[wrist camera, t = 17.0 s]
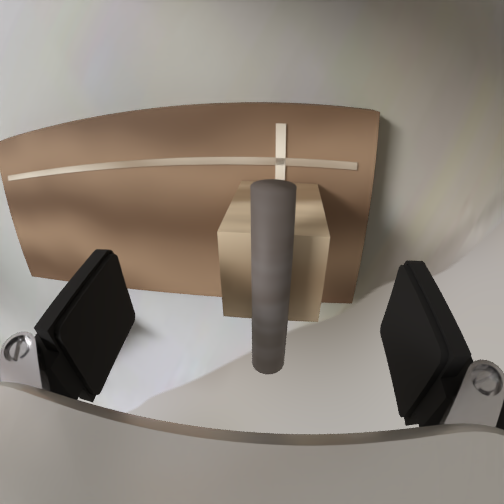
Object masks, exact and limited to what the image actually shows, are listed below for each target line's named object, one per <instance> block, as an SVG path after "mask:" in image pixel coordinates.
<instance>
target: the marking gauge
mask: <svg viewBox="0 0 504 504" xmlns="http://www.w3.org/2000/svg"><path fill="white" fill-rule="evenodd" d="M217 236H218V251H219V265H220V278H221V290H222V303H223V314H224V316H229V317H242V318H252V363H253V367H254V368H255V369H256V370H257V371H258V372H260V373H263V374H273V373H276V372H278V371H280V370H281V369H282V367H283V365H284V355H285V345H286V335H287V323H288V320H289V321H311V322H318V318H319V312H320V306H321V300H322V293H323V287H324V280H325V273H326V266H327V258H328V251H329V243H330V234H329V229H328V225H327V221H326V217H325V212H324V208H323V204H322V200H321V196H320V192H319V188H318V184H307V183H292V182H289V181H285V180H279V179H265V180H259V181H241V183H240V185H239V187H238V189H237V191H236V193H235V195H234V197H233V199H232V201H231V204H230V206H229V208H228V210H227V212H226V214H225V216H224V218H223V220H222V223H221V225H220V227H219V229H218V231H217Z"/></svg>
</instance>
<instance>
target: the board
mask: <svg viewBox="0 0 504 504" xmlns="http://www.w3.org/2000/svg"><path fill="white" fill-rule="evenodd" d="M379 115H380V112H378V111H375V110H371V109H362V108H353V107H344V106H332V105H319V104H302V103H272V102H241V103H211V104H194V105H181V106H169V107H160V108H151V109H142V110H135V111H128V112H121V113H114V114H108V115H102V116H97V117H91V118H86V119H81V120H76V121H72V122H67V123H63V124H58V125H54V126H50V127H46V128H42V129H38V130H34V131H31V132H27V133H23V134H20V135H17V136H13V137H10V138H7V139H4V140H2V141H0V172H1V176H2V181H3V185H4V190H5V194H6V198H7V202H8V205H9V209H10V213H11V216H12V220H13V223H14V226H15V230H16V233H17V236H18V239H19V242H20V245H21V248H22V251H23V254H24V256H25V259H26V262H27V265H28V267H29V270H30V272H31V275H32V276H34V277H41V278H48V279H55V280H63V281H70V279H71V278H72V277H73V276H74V274H75V273H76V272H77V271H78V269H79V268H80V267H81V266H82V265H83V263H84V262H85V261H86V260H87V259H88V258H89V256H90V255H91V254H92V253H93V252H94V251H95V250H96V249H108V250H112V251H113V252H114V254H116V255H117V256H118V259H119V262H120V266H121V269H122V273H123V276H124V280H125V283H126V286H127V288H129V289H138V290H148V291H158V292H169V293H180V294H192V295H204V296H217V297H222V290H221V278H220V265H219V251H218V236H217V231H218V229H219V227H220V225H221V223H222V220H223V218H224V216H225V214H226V212H227V210H228V208H229V206H230V204H231V201H232V199H233V197H234V195H235V193H236V191H237V189H238V187H239V185H240V183H241V181H259V180H265V179H279V180H285V181H289V182H292V183H307V184H318V188H319V192H320V196H321V200H322V204H323V208H324V212H325V217H326V221H327V225H328V229H329V234H330V243H329V251H328V258H327V266H326V273H325V280H324V287H323V293H322V300H321V302H325V303H352V301H353V296H354V292H355V287H356V282H357V277H358V272H359V267H360V262H361V257H362V251H363V246H364V240H365V234H366V228H367V222H368V216H369V209H370V202H371V195H372V187H373V179H374V171H375V162H376V152H377V141H378V129H379Z"/></svg>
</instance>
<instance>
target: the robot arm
mask: <svg viewBox="0 0 504 504" xmlns="http://www.w3.org/2000/svg"><path fill="white" fill-rule="evenodd" d="M134 320H135V312H134V309H133V306H132V302H131V299H130V296H129V293H128V290H127V286H126V283H125V280H124V276H123V273H122V269H121V266H120V262H119V259H118V256H117V255H116V254H114V252H113V251H112V250H108V249H96V250H95V251H94V252H93V253H92V254H91V255H90V256H89V258H88V259H87V260H86V261H85V262H84V263H83V265H82V266H81V267H80V268H79V269H78V271H77V272H76V273H75V274H74V276H73V277H72V278H71V279H70V281H69V282H68V283H67V284H66V286H65V287H64V288H63V289H62V291H61V292H60V293H59V295H58V296H57V297H56V298H55V300H54V301H53V302H52V304H51V305H50V306H49V308H48V309H47V310H46V312H45V313H44V314H43V316H42V317H41V319H40V320H39V321H38V323H37V324H36V326H35V327H34V329H35V330H36V332H37V334H36V336H35V337H34V336H33V335H32V334H31V333H29V332H19V333H16V334H14V335H12V336H11V337H9V338H8V339H7V340H6V341H5V343H4V344H3V346H2V348H1V351H0V504H504V373H503V371H502V370H501V369H500V368H499V367H498V366H497V365H495V364H494V363H493V362H490V361H487V360H477V361H474V362H473V360H472V357H471V353H470V350H469V348H468V346H467V344H466V342H465V340H464V337H463V335H462V333H461V331H460V329H459V327H458V325H457V323H456V321H455V319H454V317H453V315H452V313H451V311H450V309H449V307H448V305H447V303H446V301H445V299H444V297H443V295H442V293H441V292H440V290H439V288H438V286H437V284H436V283H435V281H434V279H433V277H432V275H431V274H430V272H429V270H428V268H427V267H426V265H425V263H424V262H423V261H406V262H405V263H404V265H400V267H399V270H398V273H397V277H396V280H395V283H394V287H393V290H392V294H391V297H390V300H389V303H388V306H387V309H386V312H385V315H384V318H383V321H382V324H381V328H380V333H381V338H382V342H383V345H384V349H385V353H386V357H387V362H388V366H389V370H390V374H391V378H392V383H393V387H394V392H395V396H396V401H397V405H398V411H399V415H400V416H401V417H404V419H405V425H406V426H407V425H413V424H419V427H416V428H409V429H400V430H390V431H378V432H364V433H348V434H317V435H316V434H312V435H311V434H272V433H271V434H270V433H255V432H240V431H230V430H221V429H212V428H205V427H197V426H190V425H183V424H178V423H171V422H166V421H160V420H155V419H151V418H146V417H141V416H136V415H132V414H128V413H123V412H119V411H115V410H111V409H107V408H104V407H100V406H96V405H93V404H89V403H86V402H82V401H79V400H77V399H78V397H80V399H84V400H87V401H90V402H93V401H94V399H95V396H96V395H98V394H100V392H101V391H102V388H103V386H104V384H105V382H106V380H107V377H108V375H109V373H110V371H111V369H112V366H113V364H114V362H115V360H116V358H117V356H118V354H119V352H120V350H121V347H122V345H123V343H124V341H125V339H126V337H127V335H128V333H129V331H130V329H131V327H132V325H133V323H134Z"/></svg>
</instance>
